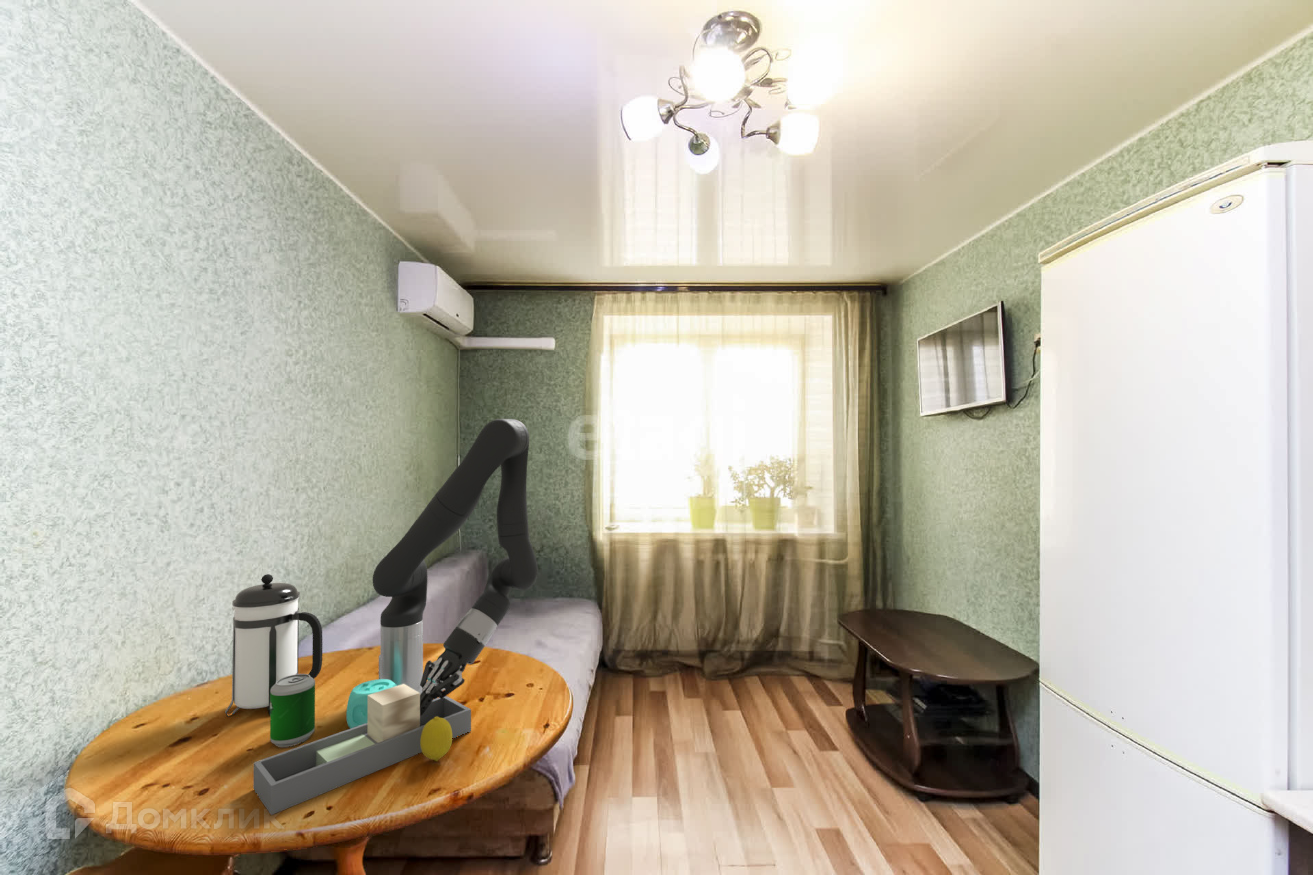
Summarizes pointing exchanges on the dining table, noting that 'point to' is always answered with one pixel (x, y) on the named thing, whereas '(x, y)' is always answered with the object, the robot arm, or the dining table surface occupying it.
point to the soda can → (292, 710)
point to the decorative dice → (363, 700)
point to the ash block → (393, 712)
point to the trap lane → (344, 758)
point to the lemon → (436, 738)
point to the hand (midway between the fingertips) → (415, 713)
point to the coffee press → (268, 641)
